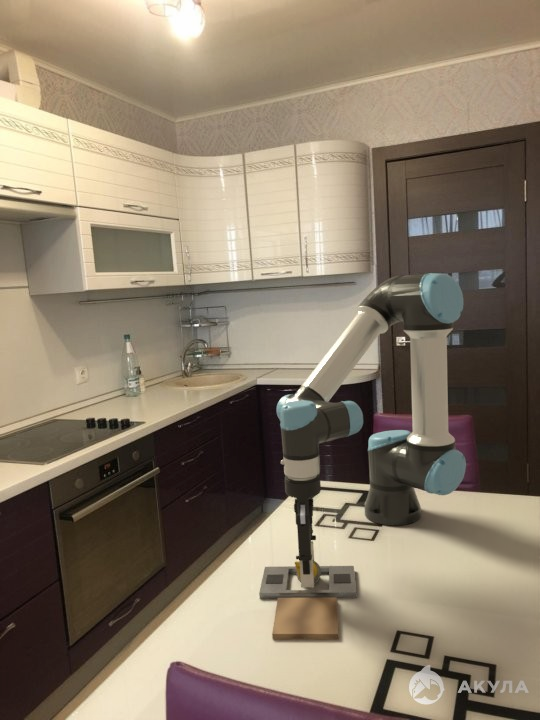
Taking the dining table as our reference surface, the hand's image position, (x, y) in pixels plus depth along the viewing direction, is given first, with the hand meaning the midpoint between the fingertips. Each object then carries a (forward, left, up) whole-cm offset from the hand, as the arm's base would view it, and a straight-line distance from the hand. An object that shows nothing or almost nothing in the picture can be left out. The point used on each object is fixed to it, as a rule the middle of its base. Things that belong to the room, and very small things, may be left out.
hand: (308, 577), depth 121 cm
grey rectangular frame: (0, 0, -1) cm, 1 cm away
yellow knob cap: (0, 0, -2) cm, 2 cm away
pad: (0, +13, -1) cm, 13 cm away
